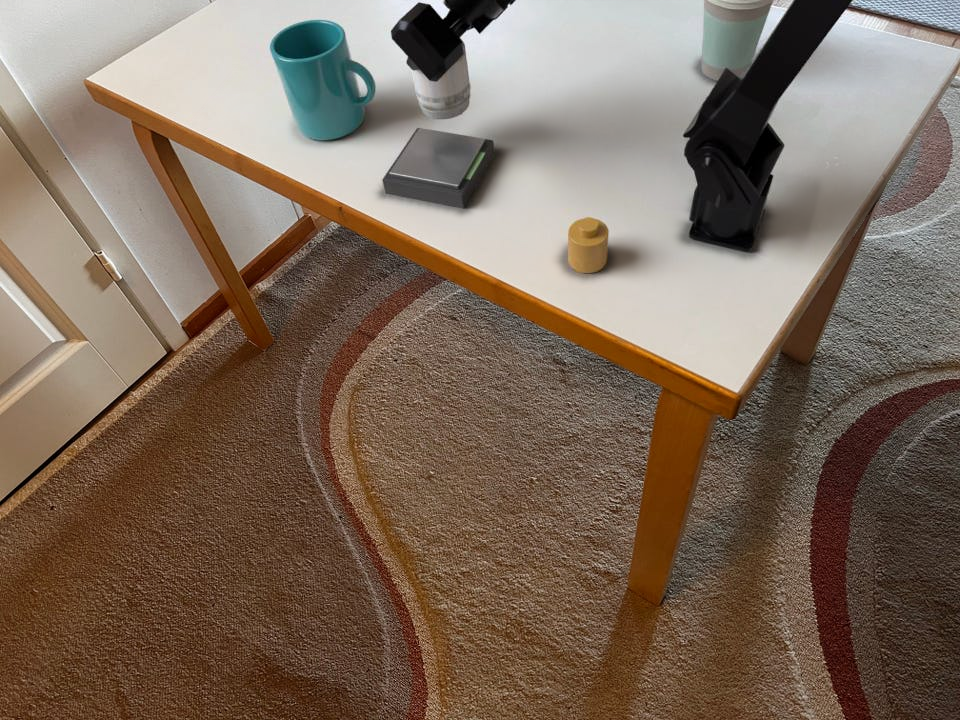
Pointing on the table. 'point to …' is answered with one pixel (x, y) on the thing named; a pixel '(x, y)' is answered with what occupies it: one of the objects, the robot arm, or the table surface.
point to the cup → (321, 79)
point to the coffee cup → (731, 34)
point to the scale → (439, 167)
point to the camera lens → (444, 91)
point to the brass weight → (587, 245)
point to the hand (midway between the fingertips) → (426, 49)
